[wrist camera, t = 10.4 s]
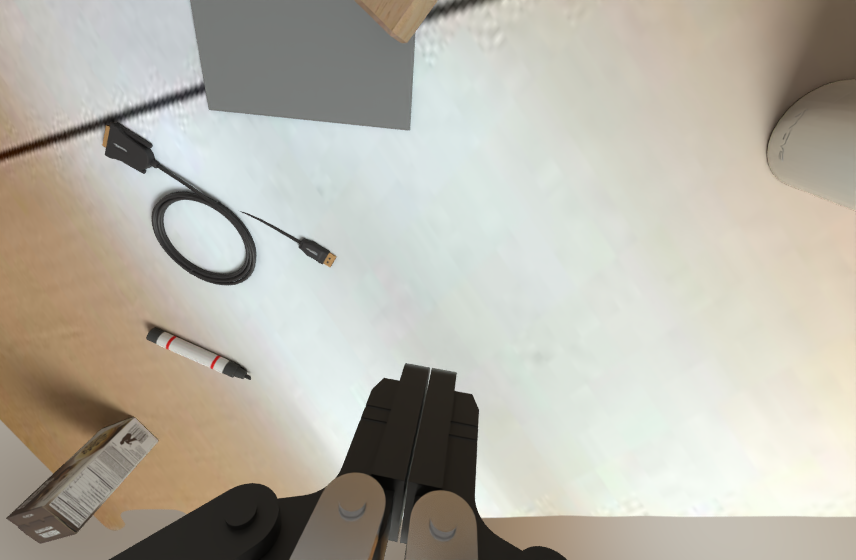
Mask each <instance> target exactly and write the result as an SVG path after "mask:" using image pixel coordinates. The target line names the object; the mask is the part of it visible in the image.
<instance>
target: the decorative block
mask: <svg viewBox="0 0 856 560" xmlns="http://www.w3.org/2000/svg"><path fill="white" fill-rule="evenodd" d="M354 1H355V2H356V3H357V4H358V5H359V6H360V7H361V8H362V9H363V10H365V11H366V12H367V13H368V14H369V15H370V16H371V17H372V18H373V19H374V20H375V21H376V22H377V23H378V24H379V25H380V26H381V27H382V28H383V29H384V30H385V31H386V32H387V33H388V34H389V35H390V36H391V37H393V38H394V39H396V40H397V41H399V42H400V43H408V41H409V40H410V38H411V37H412V36H413V34H414V33H415V31H416V30H417V29H418V27H419V26H420V24H421V23H422V22H423V20H424V19H425V17H426V16H427V15H428V13H429V12H430V10H431V9H432V8H433V6H434V5H435V4H436V2H437V1H438V0H354Z"/></svg>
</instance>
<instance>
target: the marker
mask: <svg viewBox="0 0 856 560" xmlns="http://www.w3.org/2000/svg"><path fill="white" fill-rule="evenodd" d="M146 339H147V340H149V341H151V342H153V343H156V344H157V345H159V346H162V347H164V348H166V349H168V350H171V351H173V352H175V353H177V354H180V355H182V356H184V357H186V358H189V359H191V360H193V361H195V362H198V363H200V364H202V365H205V366H207V367H209V368H211V369H214V370H216V371H218V372H220V373H223V374H226V375H228V376H230V377H234V376H235V377H238V378H241V379H244V378H247V379H249V380H251V376H249V375H247V371H245V370H244V369H242V368H240V367H239V366H240V365H238V364H236V363H233V362H231V361H230V360H227V359H225V358H223V357H221V356H218V355H216V354H214V353H212V352H209V351H207V350H205V349H203V348H201V347H198V346H196V345H194V344H192V343H189V342H187V341H185V340H183V339H180V338H178V337H176V336H174V335H171V334H169V333H167V332H164V331H162V330H160V329H157V328H153V329H151V330H150V332H149V333H148V335H147V337H146Z"/></svg>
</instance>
